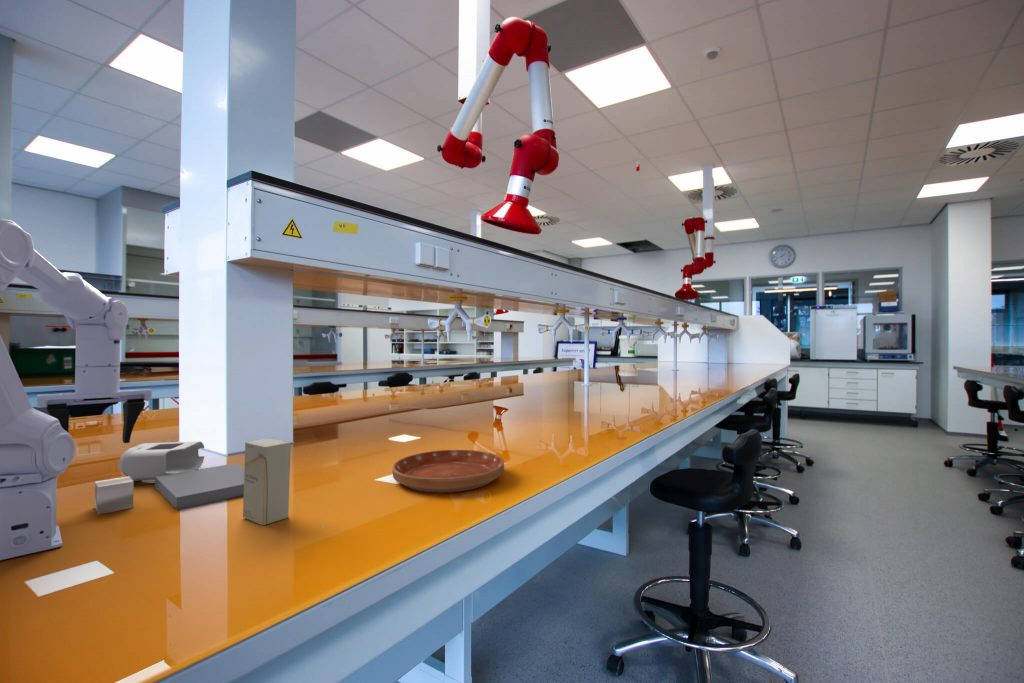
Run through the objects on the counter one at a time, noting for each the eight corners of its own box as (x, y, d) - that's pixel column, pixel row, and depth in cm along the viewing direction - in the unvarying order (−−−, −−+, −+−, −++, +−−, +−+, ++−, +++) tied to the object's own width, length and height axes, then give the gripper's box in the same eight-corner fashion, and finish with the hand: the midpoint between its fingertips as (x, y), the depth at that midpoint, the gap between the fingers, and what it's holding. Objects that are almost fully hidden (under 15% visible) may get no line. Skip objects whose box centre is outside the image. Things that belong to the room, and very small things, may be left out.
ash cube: (133, 507, 78) (133, 481, 78) (98, 514, 75) (98, 487, 75) (129, 501, 82) (129, 476, 82) (94, 508, 78) (95, 481, 78)
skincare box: (242, 518, 73) (242, 441, 74) (269, 509, 77) (269, 437, 77) (263, 526, 70) (264, 446, 70) (291, 517, 74) (291, 441, 74)
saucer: (458, 505, 80) (458, 484, 80) (367, 484, 92) (367, 466, 92) (524, 474, 99) (524, 457, 100) (442, 460, 111) (442, 445, 112)
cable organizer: (109, 453, 90) (178, 450, 92) (146, 439, 102) (206, 437, 104) (109, 487, 90) (178, 484, 92) (146, 469, 102) (206, 467, 104)
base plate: (266, 490, 88) (266, 479, 88) (176, 509, 77) (176, 497, 77) (235, 472, 100) (235, 463, 100) (154, 486, 90) (155, 476, 90)
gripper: (146, 364, 87) (145, 436, 87) (36, 367, 77) (35, 449, 76) (154, 365, 83) (153, 441, 82) (38, 368, 72) (37, 455, 72)
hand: (97, 445), depth 79 cm, fingers open, 7 cm apart
